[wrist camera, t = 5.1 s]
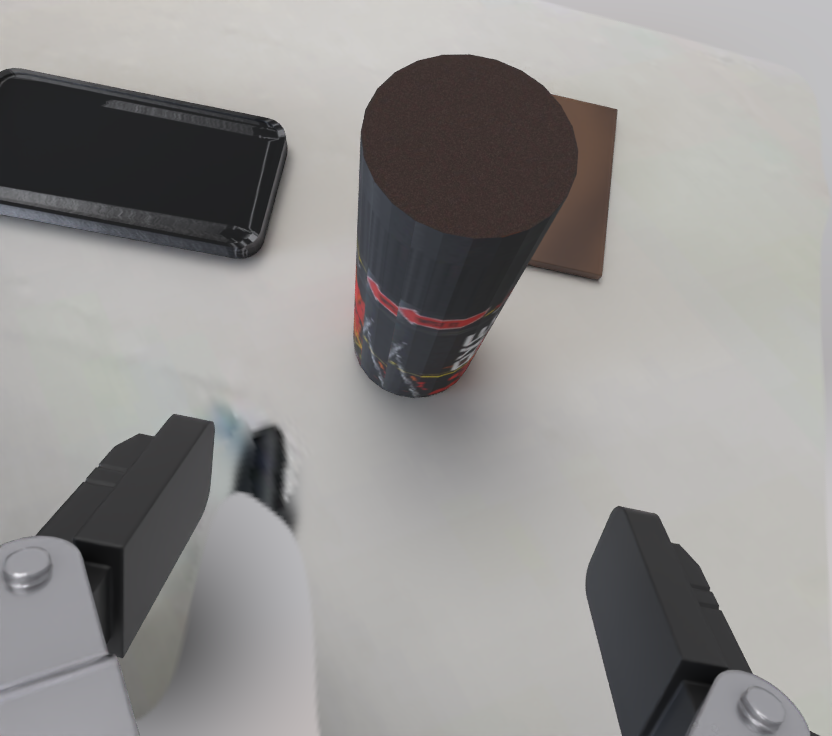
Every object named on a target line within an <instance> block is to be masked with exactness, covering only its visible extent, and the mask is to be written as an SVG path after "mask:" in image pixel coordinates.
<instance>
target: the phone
mask: <svg viewBox="0 0 832 736" xmlns="http://www.w3.org/2000/svg"><path fill="white" fill-rule="evenodd" d="M286 155H287V142H286V135H285V131H284V129H283V127H282V126H281V125H280V124H279V123H278V122H276V121H275V120H272V119H269V118H265V117H260V116H255V115H250V114H245V113H240V112H235V111H230V110H225V109H220V108H215V107H210V106H205V105H200V104H195V103H190V102H185V101H180V100H175V99H170V98H165V97H160V96H155V95H150V94H145V93H140V92H135V91H130V90H125V89H120V88H115V87H110V86H105V85H100V84H95V83H90V82H85V81H80V80H75V79H70V78H65V77H60V76H55V75H50V74H45V73H40V72H35V71H31V70H26V69H19V68H11V69H6V70H3V71H1V72H0V214H2V215H8V216H13V217H18V218H24V219H29V220H34V221H40V222H45V223H50V224H56V225H61V226H66V227H72V228H77V229H82V230H87V231H93V232H98V233H103V234H109V235H114V236H119V237H125V238H130V239H135V240H141V241H146V242H151V243H157V244H162V245H167V246H173V247H178V248H183V249H189V250H194V251H199V252H205V253H210V254H215V255H221V256H226V257H231V258H246V257H250V256H252V255H254V254H255V253H257V251H258V250H259V249H260V248H261V246H262V244H263V242H264V238H265V234H266V230H267V227H268V223H269V219H270V215H271V212H272V208H273V204H274V200H275V197H276V193H277V189H278V185H279V182H280V178H281V174H282V170H283V167H284V163H285V159H286Z"/></svg>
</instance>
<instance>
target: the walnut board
mask: <svg viewBox="0 0 832 736" xmlns="http://www.w3.org/2000/svg"><path fill="white" fill-rule="evenodd" d="M551 95H552V96H553V97H554V98H555V99H556V100H557V101H558V102H559V103H560V105H561V106H562V108H563V110H564V112H565V114H566V115H567V117H568V119H569V121H570V123H571V125H572V126H573V130H574V134H575V138H576V142H577V147H578V163H577V175H576V177H575V180H574V182H573V185H572V187H571V189H570V192H569V194H568V197H567V198H566V200H565V202H564V203H563V205H562V207H561V209H560V210H559V212H558V214H557V215H556V217H555V219H554V220H553V222H552V224H551V226H550V227H549V229H548V231H547V232H546V234H545V236H544V238H543V239H542V241H541V243H540V244H539V246H538V248H537V249H536V251H535V253H534V255H533V256H532V258H531V260H530V261H529V263H528V265H531V266H536V267H541V268H545V269H550V270H554V271H559V272H563V273H568V274H573V275H577V276H582V277H586V278H591V279H595V280H598V279H599V278H600V277H601V276H602V271H603V261H604V250H605V239H606V228H607V217H608V207H609V196H610V185H611V174H612V163H613V153H614V142H615V131H616V120H617V109H613V108H609V107H605V106H600V105H596V104H592V103H587V102H583V101H579V100H574V99H570V98H566V97H561V96H557V95H553V94H551Z"/></svg>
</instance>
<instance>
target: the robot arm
mask: <svg viewBox="0 0 832 736" xmlns="http://www.w3.org/2000/svg"><path fill="white" fill-rule="evenodd" d="M214 435H215V427H214V423H213V422H211V421H207V420H202V419H197V418H192V417H187V416H182V415H177V414H173V415H172V416H171V417H170V418H169V419H168V420H167V422H166V423H165V424H164V425H163V427H162V428H161V429H160V430H159V432H158V433H157V434H156V435H155V436H149V435H144V434H137V435H135V436H134V437H132V438H130V439H128V440H126V441H124V442H122V443H120V444H118V445H116V446H115V447H114V448H113V449H112V450H111V451H110V452H109V453H108V455H107V456H106V457H105V458H104V459H103V460H102V461H101V462H100V464H99V467H98V468H97V467H96V468H95V469H94V470H93V471H92V473H91V474H90V475H89V476H88V477H87V478H86V482H83V483H82V484H81V485H80V486H79V487H78V488H77V489H76V491H75V492H74V493H73V494H72V495H71V496H70V497H69V498H68V500H67V501H66V502H65V503H64V504H63V505H62V506H61V507H60V509H59V510H58V511H57V512H56V513H55V514H54V515H53V516H52V518H51V519H50V520H49V521H48V522H47V523H46V524H45V525H44V527H43V528H42V529H41V530H40V531H39V532H38V533H37V534H36V536H31V537H25V538H20V539H16V540H13V541H10V542H7V543H5V544H2V545H0V736H140V734H139V731H138V727H137V724H136V720H135V717H134V713H133V709H132V706H131V702H130V699H129V695H128V692H127V688H126V684H125V681H124V677H123V674H122V670H121V667H120V664H119V661H118V658H117V657H120V658H123V657H124V655H125V654H126V652H127V650H128V648H129V646H130V645H131V643H132V641H133V639H134V637H135V636H136V634H137V632H138V630H139V628H140V627H141V625H142V623H143V621H144V619H145V618H146V616H147V614H148V612H149V610H150V609H151V607H152V605H153V603H154V601H155V600H156V598H157V596H158V594H159V592H160V591H161V589H162V587H163V585H164V583H165V582H166V580H167V578H168V576H169V574H170V573H171V571H172V569H173V567H174V566H175V564H176V562H177V560H178V558H179V557H180V555H181V553H182V551H183V549H184V548H185V546H186V544H187V542H188V540H189V539H190V537H191V535H192V533H193V531H194V530H195V528H196V526H197V524H198V522H199V521H200V519H201V517H202V515H203V512H204V510H205V507H206V504H207V500H208V496H209V492H210V485H211V473H212V460H213V447H214ZM586 596H587V600H588V604H589V608H590V612H591V616H592V619H593V623H594V627H595V631H596V635H597V639H598V643H599V647H600V651H601V655H602V659H603V663H604V667H605V671H606V675H607V678H608V682H609V686H610V690H611V694H612V698H613V702H614V706H615V710H616V714H617V718H618V722H619V726H620V730H621V734H622V736H819V735H817V734H815V733H813V732H811V731H809V728H808V725H807V723H806V721H805V719H804V717H803V716H802V714H801V713H800V711H799V710H798V708H797V707H796V706H795V705H794V703H793V702H792V701H791V700H790V699H789V698H788V697H787V696H786V695H785V694H784V693H782V692H781V691H780V690H779V689H778V688H776V687H775V686H774V685H772V684H771V683H769V682H767V681H766V680H764V679H762V678H760V677H758V676H756V675H754V674H753V673H752V671H751V669H750V667H749V665H748V663H747V661H746V659H745V657H744V655H743V653H742V651H741V649H740V647H739V645H738V643H737V641H736V639H735V637H734V635H733V633H732V631H731V629H730V627H729V625H728V623H727V621H726V619H725V617H724V615H723V613H722V611H721V610H719V605H718V603H717V601H716V599H715V597H714V595H713V593H712V592H710V587H709V585H708V583H707V581H706V579H705V577H704V575H703V572H702V570H701V568H700V566H699V565H698V564H697V563H696V562H695V561H694V560H693V559H692V557H691V556H690V555H689V554H688V553H687V552H686V551H685V550H684V549H683V548H682V547H681V546H680V545H679V544H674V543H671V542H670V539H669V537H668V535H667V533H666V531H665V529H664V526H663V524H662V522H661V520H660V518H659V516H658V515H657V514H655V513H650V512H645V511H640V510H635V509H630V508H625V507H621V506H618V507H616V508H615V509H614V510H613V511H612V512H611V514H610V517H609V519H608V521H607V523H606V526H605V528H604V530H603V533H602V535H601V537H600V539H599V542H598V544H597V546H596V549H595V551H594V553H593V555H592V558H591V560H590V562H589V565H588V569H587V574H586Z"/></svg>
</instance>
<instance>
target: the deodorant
mask: <svg viewBox="0 0 832 736" xmlns="http://www.w3.org/2000/svg"><path fill="white" fill-rule="evenodd" d="M577 163H578V147H577V142H576V138H575V134H574V130H573V126H572V125H571V123H570V121H569V119H568V117H567V115H566V114H565V112H564V110H563V108H562V106H561V105H560V103H559V102H558V101H557V100H556V99H555V98H554V97H553V96H552V95H551V94H550V93H549V91H548V90H547V89H546V88H545V87H544V86H543V85H541V84H540V83H539V82H537V81H536V80H534V79H533V78H531V77H530V76H529V75H527V74H526V73H524V72H523V71H521V70H519V69H517V68H514V67H512V66H510V65H507V64H505V63H502V62H500V61H498V60H494V59H489V58H484V57H479V56H474V55H440V56H436V57H432V58H427V59H423V60H419V61H416V62H414V63H412V64H410V65H408V66H406V67H404V68H402V69H400V70H399V71H397V72H395V73H394V74H393V75H392V76H391V77H389V78H388V79H387V80H386V81H385V82H384V83H383V84H382V85H381V86H380V87H379V88H378V89H377V90H376V92H375V94H374V96H373V97H372V99H371V101H370V102H369V104H368V106H367V108H366V110H365V115H364V120H363V124H362V129H361V142H360V170H359V198H358V225H357V253H356V281H355V309H354V347H355V353H356V356H357V358H358V361H359V363H360V366H361V367H362V369H363V370H364V371H365V373H366V374H367V375H368V377H369V378H370V379H371V380H372V381H374V382H375V383H376V384H377V385H379V386H380V387H381V388H382V389H385V390H387V391H389V392H391V393H394V394H396V395H400V396H406V397H412V398H415V397H427V396H431V395H434V394H437V393H440V392H443V391H444V390H446V389H447V388H449V387H450V386H452V385H453V384H454V383H456V382H457V381H458V379H459V378H460V377H461V376H462V374H463V373H464V372H465V371H466V369H467V367H468V366H469V364H470V362H471V360H472V359H473V357H474V355H475V354H476V352H477V350H478V348H479V347H480V345H481V343H482V342H483V340H484V338H485V336H486V335H487V333H488V331H489V330H490V328H491V326H492V325H493V323H494V321H495V319H496V318H497V316H498V314H499V313H500V311H501V309H502V307H503V306H504V304H505V302H506V301H507V299H508V297H509V296H510V294H511V292H512V290H513V289H514V287H515V285H516V284H517V282H518V280H519V278H520V277H521V275H522V273H523V272H524V270H525V268H526V267H527V265H528V263H529V261H530V260H531V258H532V256H533V255H534V253H535V251H536V249H537V248H538V246H539V244H540V243H541V241H542V239H543V238H544V236H545V234H546V232H547V231H548V229H549V227H550V226H551V224H552V222H553V220H554V219H555V217H556V215H557V214H558V212H559V210H560V209H561V207H562V205H563V203H564V202H565V200H566V198H567V197H568V194H569V192H570V189H571V187H572V185H573V182H574V180H575V177H576V175H577Z"/></svg>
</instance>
